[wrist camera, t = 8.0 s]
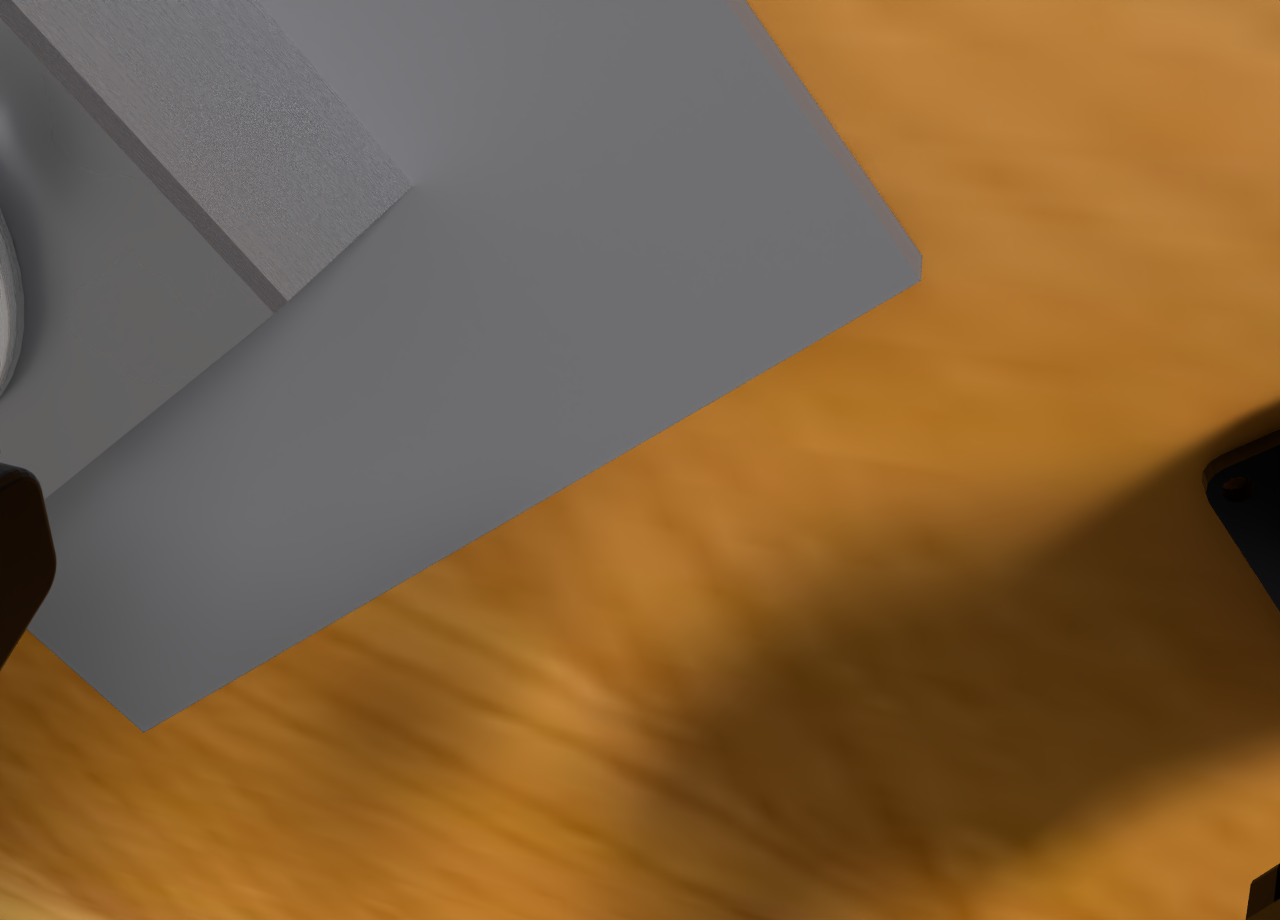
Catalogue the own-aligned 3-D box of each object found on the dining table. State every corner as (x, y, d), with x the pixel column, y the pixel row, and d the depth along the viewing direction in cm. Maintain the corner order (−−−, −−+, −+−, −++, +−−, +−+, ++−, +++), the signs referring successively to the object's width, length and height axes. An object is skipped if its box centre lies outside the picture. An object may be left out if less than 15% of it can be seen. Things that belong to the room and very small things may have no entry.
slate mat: (922, 255, 20) (921, 280, 19) (165, 704, 30) (143, 732, 29) (-176, -1331, 13) (-252, -1401, 12) (-657, -37, 23) (-715, -26, 23)
